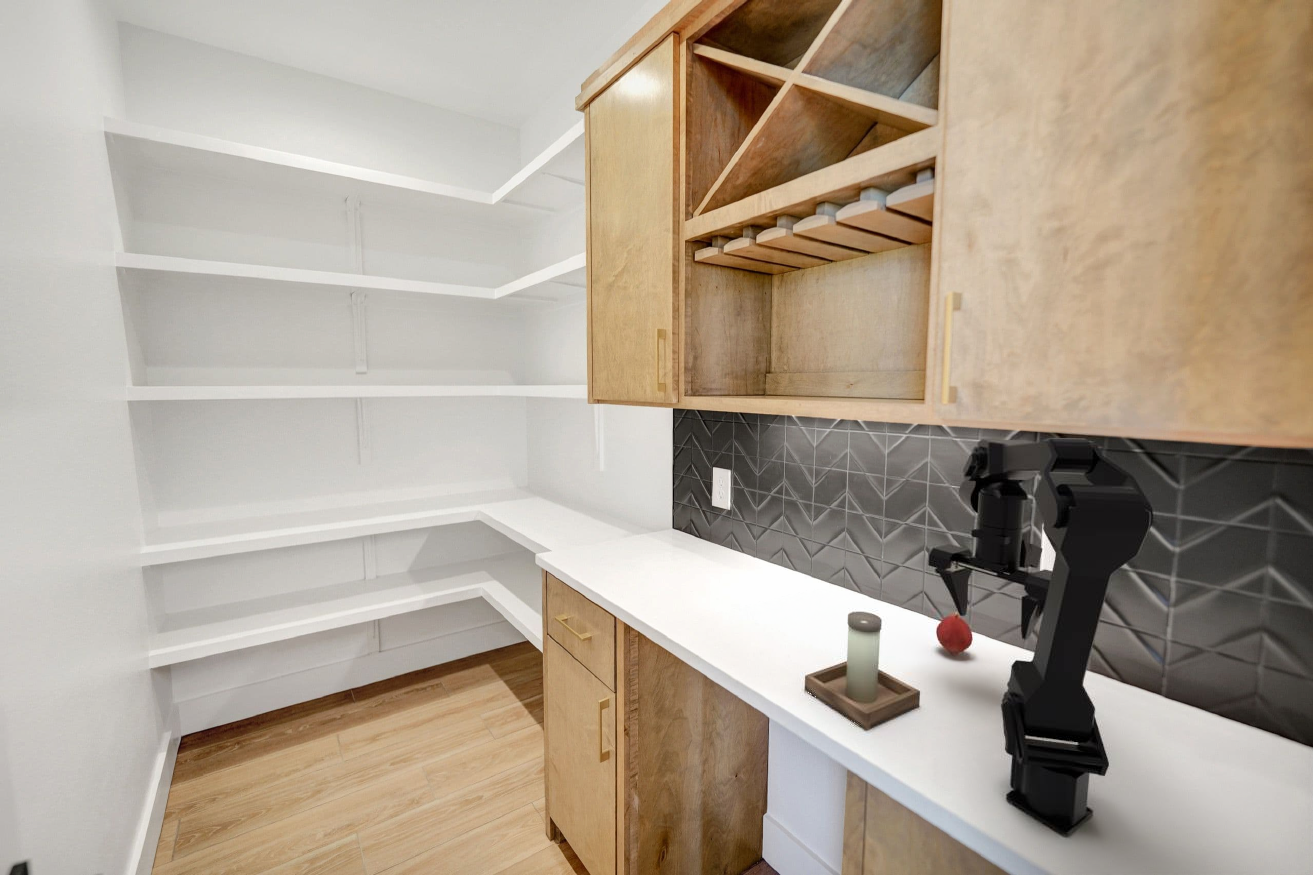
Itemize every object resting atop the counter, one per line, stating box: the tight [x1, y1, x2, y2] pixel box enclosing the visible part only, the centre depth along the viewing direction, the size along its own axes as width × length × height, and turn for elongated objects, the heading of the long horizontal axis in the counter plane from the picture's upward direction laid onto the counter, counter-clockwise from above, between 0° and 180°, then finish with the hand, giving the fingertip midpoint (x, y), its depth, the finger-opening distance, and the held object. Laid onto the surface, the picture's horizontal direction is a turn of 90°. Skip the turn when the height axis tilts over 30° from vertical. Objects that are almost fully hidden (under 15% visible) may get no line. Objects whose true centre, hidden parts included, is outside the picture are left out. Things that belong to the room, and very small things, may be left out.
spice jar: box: [846, 611, 883, 703], centre depth 87 cm, size 5×5×12 cm
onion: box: [935, 612, 974, 656], centre depth 102 cm, size 6×6×8 cm
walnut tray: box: [804, 660, 921, 731], centre depth 88 cm, size 12×12×2 cm
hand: (992, 626), depth 84 cm, fingers open, 9 cm apart
